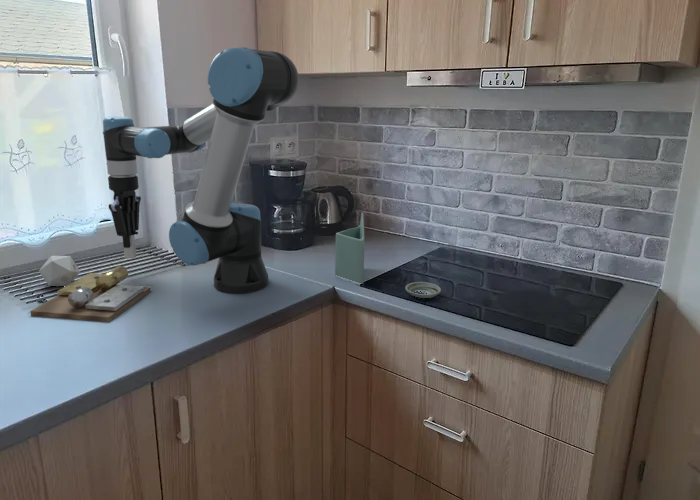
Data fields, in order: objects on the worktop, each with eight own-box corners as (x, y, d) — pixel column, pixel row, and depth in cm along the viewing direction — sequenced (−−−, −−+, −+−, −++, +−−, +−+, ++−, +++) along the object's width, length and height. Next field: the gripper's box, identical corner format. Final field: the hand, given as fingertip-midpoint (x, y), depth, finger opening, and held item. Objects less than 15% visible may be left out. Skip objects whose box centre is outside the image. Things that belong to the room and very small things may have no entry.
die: (54, 295, 140) (76, 264, 141) (26, 277, 140) (48, 246, 141) (70, 295, 149) (91, 265, 149) (44, 278, 149) (64, 248, 150)
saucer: (399, 290, 148) (400, 282, 147) (431, 288, 150) (432, 280, 150) (412, 304, 139) (412, 295, 138) (446, 301, 142) (446, 292, 141)
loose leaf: (130, 279, 147) (128, 265, 146) (101, 297, 134) (99, 282, 133) (90, 276, 149) (88, 262, 147) (57, 294, 135) (55, 279, 134)
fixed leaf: (144, 290, 140) (143, 275, 138) (115, 310, 126) (113, 295, 125) (102, 287, 141) (100, 272, 140) (69, 307, 128) (67, 291, 127)
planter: (334, 267, 165) (335, 206, 160) (360, 268, 166) (361, 206, 160) (335, 286, 150) (336, 218, 144) (363, 286, 150) (365, 219, 144)
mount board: (150, 291, 143) (150, 287, 143) (109, 321, 124) (108, 317, 124) (82, 286, 145) (81, 282, 145) (30, 315, 126) (30, 310, 126)
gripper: (122, 170, 151) (130, 249, 158) (96, 178, 138) (105, 263, 145) (147, 172, 150) (153, 251, 157) (122, 179, 137) (130, 265, 144)
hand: (130, 257), depth 151 cm, fingers closed
